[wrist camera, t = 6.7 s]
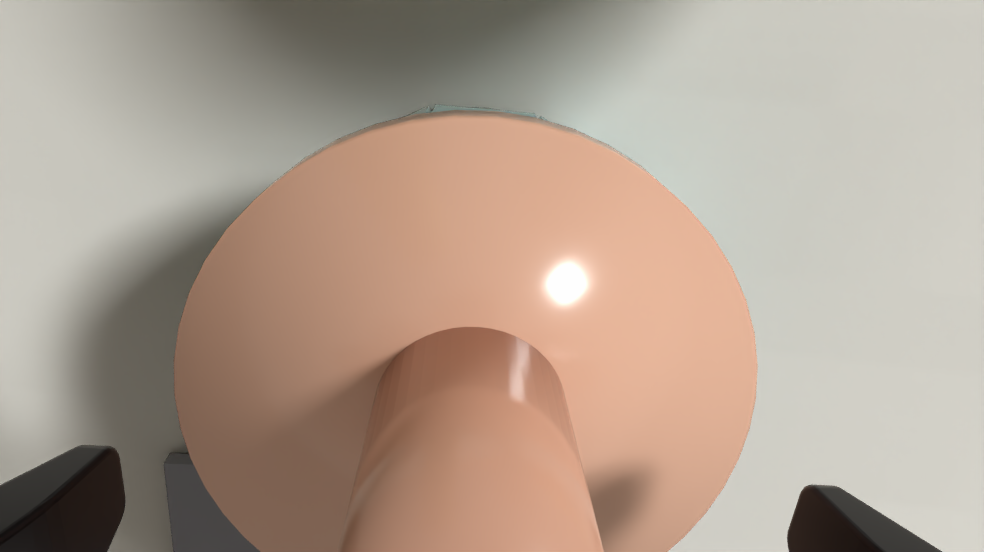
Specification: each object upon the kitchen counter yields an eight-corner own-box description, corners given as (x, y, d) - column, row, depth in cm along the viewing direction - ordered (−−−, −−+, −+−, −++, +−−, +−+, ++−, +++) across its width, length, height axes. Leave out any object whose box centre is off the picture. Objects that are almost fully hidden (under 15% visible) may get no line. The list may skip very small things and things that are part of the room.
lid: (676, 588, 13) (805, 950, 8) (215, 568, 13) (46, 946, 8) (794, 138, 10) (1138, 277, 5) (176, 81, 9) (-174, 172, 4)
